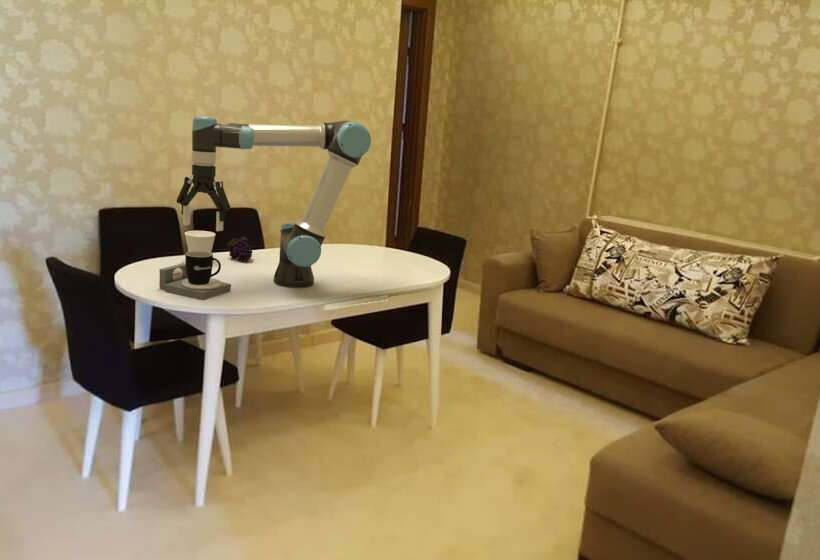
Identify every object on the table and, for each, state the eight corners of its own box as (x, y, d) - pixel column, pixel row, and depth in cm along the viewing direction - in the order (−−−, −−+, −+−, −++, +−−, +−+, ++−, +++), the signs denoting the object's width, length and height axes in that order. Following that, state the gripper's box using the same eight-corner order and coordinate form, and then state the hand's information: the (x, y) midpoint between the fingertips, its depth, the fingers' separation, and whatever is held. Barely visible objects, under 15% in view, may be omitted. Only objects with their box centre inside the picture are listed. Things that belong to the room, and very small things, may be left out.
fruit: (239, 270, 272) (220, 254, 281) (261, 264, 279) (242, 248, 288) (240, 249, 267) (220, 233, 275) (262, 243, 274) (242, 228, 282)
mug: (189, 286, 219) (190, 257, 217) (181, 280, 226) (182, 251, 224) (224, 284, 226) (225, 255, 224) (215, 278, 233) (216, 250, 231)
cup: (220, 265, 266) (221, 235, 263) (194, 268, 257) (194, 237, 254) (204, 259, 273) (205, 229, 270) (178, 261, 264) (178, 231, 261)
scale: (230, 290, 232) (231, 271, 230) (202, 300, 218) (203, 279, 216) (185, 281, 238) (186, 262, 237) (156, 289, 225) (156, 269, 223)
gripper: (242, 168, 216) (240, 231, 221) (181, 159, 224) (180, 221, 229) (228, 169, 209) (226, 234, 214) (165, 160, 217) (165, 223, 222)
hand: (202, 227), depth 222 cm, fingers open, 13 cm apart
